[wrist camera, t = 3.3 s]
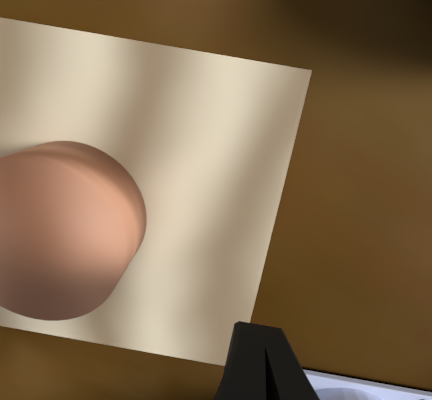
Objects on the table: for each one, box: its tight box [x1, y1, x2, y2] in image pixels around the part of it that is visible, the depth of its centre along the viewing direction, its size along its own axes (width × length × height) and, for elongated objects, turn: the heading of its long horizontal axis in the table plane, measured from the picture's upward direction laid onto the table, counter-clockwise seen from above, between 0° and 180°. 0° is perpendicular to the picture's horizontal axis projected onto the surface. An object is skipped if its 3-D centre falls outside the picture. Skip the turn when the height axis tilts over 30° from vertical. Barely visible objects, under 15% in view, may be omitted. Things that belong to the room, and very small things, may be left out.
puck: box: [0, 141, 147, 321], centre depth 14 cm, size 7×7×4 cm
